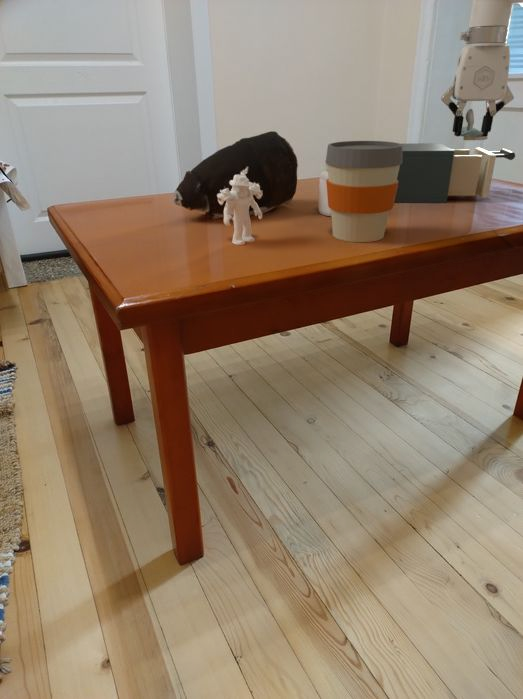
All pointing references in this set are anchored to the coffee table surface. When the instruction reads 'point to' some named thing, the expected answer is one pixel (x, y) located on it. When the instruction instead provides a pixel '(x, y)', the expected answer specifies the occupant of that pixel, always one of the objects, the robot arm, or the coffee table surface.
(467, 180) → the drawer
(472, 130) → the pacifier
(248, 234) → the flower shoulder figurine
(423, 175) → the cabinet
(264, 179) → the dark brown rounded shape
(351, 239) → the reusable coffee cup
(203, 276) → the coffee table surface
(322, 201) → the eye dropper bottle
